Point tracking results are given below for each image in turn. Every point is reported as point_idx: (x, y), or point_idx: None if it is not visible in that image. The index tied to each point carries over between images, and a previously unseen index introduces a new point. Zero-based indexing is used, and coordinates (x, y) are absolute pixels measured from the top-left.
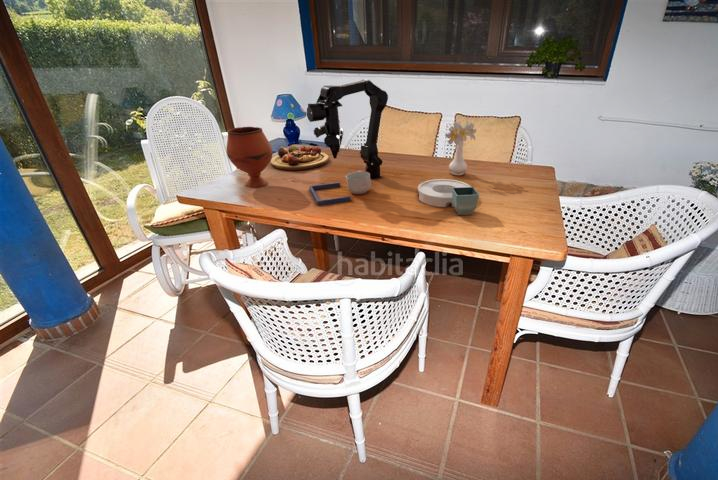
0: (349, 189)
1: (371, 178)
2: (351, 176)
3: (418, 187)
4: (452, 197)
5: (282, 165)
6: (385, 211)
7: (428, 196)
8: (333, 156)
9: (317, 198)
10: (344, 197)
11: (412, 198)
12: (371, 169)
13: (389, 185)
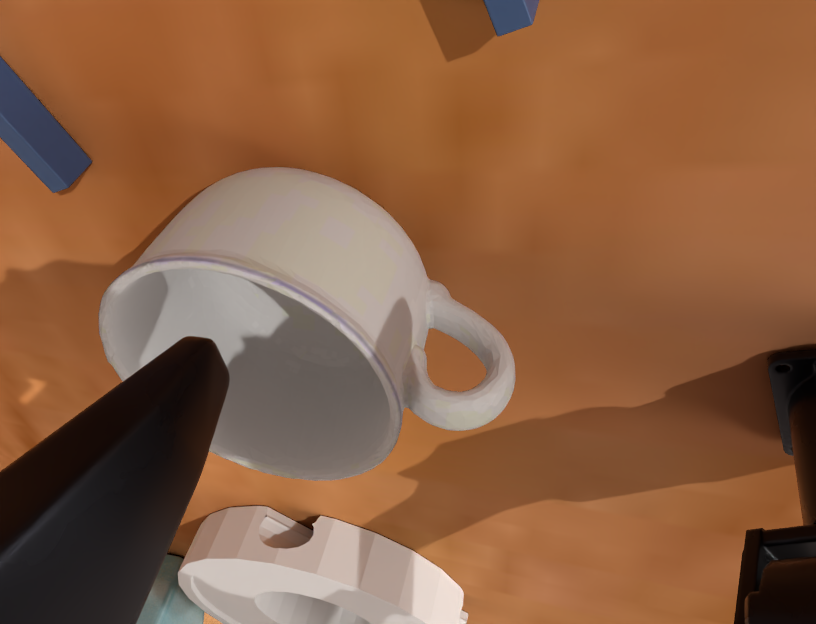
0: (202, 191)
1: (770, 372)
2: (348, 295)
3: (292, 569)
4: (156, 607)
5: None
6: (26, 358)
7: (189, 557)
8: (141, 376)
9: None
10: (3, 139)
11: (274, 489)
12: (811, 471)
13: (521, 450)
